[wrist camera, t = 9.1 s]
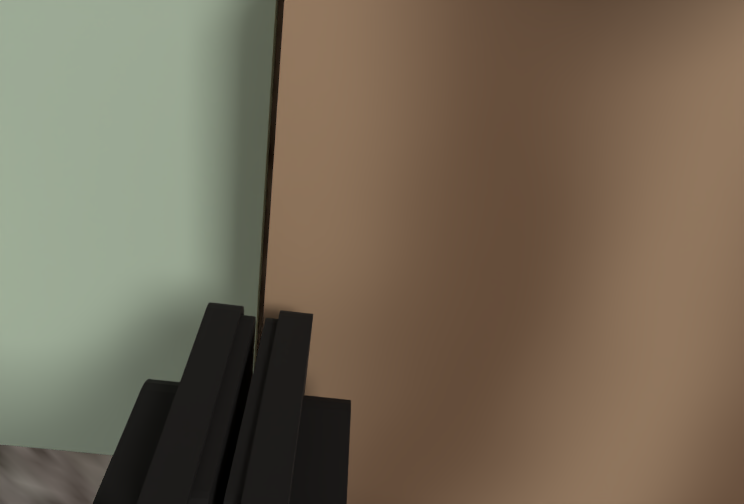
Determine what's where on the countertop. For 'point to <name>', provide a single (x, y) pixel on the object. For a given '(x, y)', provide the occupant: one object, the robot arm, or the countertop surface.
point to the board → (518, 244)
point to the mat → (123, 200)
